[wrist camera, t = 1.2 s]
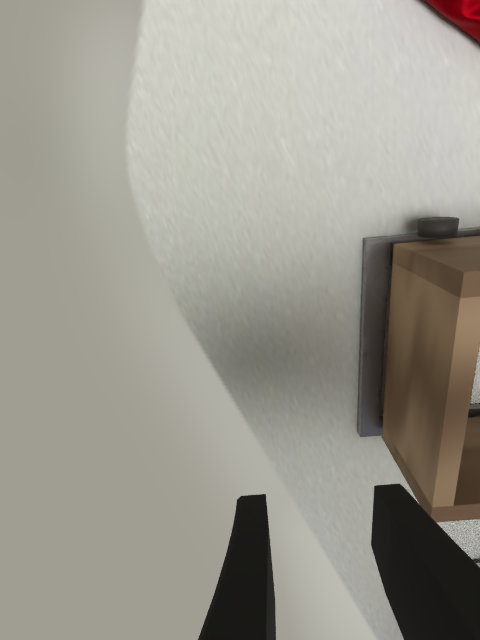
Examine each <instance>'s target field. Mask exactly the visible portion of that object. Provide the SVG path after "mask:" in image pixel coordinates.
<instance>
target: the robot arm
mask: <svg viewBox="0 0 480 640" xmlns="http://www.w3.org/2000/svg"><path fill="white" fill-rule="evenodd" d="M371 546H372V549H373V553H374V556H375V559H376V563H377V566H378V570H379V573H380V576H381V580H382V583H383V586H384V589H385V593H386V595H387V598H388V600H389V603H390V605H391V608H392V610H393V613H394V615H395V618H396V620H397V623H398V625H399V628H400V630H401V633H402V635H403V638H404V640H480V562H479V563H475V562H474V561H473V560H472V559H471V558H470V557H469V556H468V555H467V554H466V553H465V552H464V551H463V550H462V549H461V548H460V547H459V546H458V545H457V544H456V543H455V542H454V541H453V540H452V539H451V538H450V537H449V536H448V535H447V533H446V532H445V531H444V530H443V529H442V528H441V527H440V526H439V525H438V524H437V523H436V522H435V521H434V520H433V519H432V518H431V517H430V515H429V514H428V513H427V512H426V511H425V510H424V509H423V508H422V507H421V506H420V505H419V504H418V502H417V501H416V500H415V499H414V498H413V497H412V496H411V495H410V494H409V493H408V491H407V490H406V489H405V488H404V487H403V486H402V485H400V484H390V485H377V486H374V504H373V522H372V540H371ZM198 640H276V626H275V596H274V583H273V571H272V560H271V548H270V538H269V526H268V515H267V505H266V495H265V494H262V495H248V496H241V497H240V498H239V499H238V500H237V506H236V513H235V519H234V524H233V529H232V533H231V537H230V541H229V546H228V550H227V553H226V557H225V560H224V563H223V567H222V570H221V574H220V577H219V580H218V584H217V587H216V590H215V593H214V596H213V599H212V602H211V605H210V608H209V610H208V613H207V616H206V619H205V622H204V625H203V627H202V630H201V633H200V636H199V639H198Z"/></svg>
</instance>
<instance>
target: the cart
mask: <svg viewBox="0 0 480 640" xmlns="http://www.w3.org/2000/svg"><path fill="white" fill-rule="evenodd" d="M458 223H459V218H454V217H432V218H424V219H420V220H419V224H418V236H420V237H426V238H445V237H453V236H456V235H457V231H458ZM479 345H480V236H471V237H461V238H450V239H439V240H429V241H418V242H407V243H397V244H394V248H393V265H392V281H391V297H390V314H389V330H388V346H387V363H386V379H385V395H384V412H383V428H382V438H383V440H384V442H385V444H386V446H387V447H388V449H389V451H390V453H391V454H392V456H393V458H394V460H395V461H396V463H397V465H398V467H399V468H400V470H401V472H402V474H403V476H404V477H405V479H406V481H407V483H408V484H409V486H410V488H411V490H412V491H413V493H414V495H415V497H416V499H417V500H418V502H419V504H420V506H421V507H422V508H423V509H424V510H425V511H426V512H427V513H428V514H429V515H430V517H431V518H432V519H433V520H434V521H435V522H445V521H458V520H472V519H480V417H471V418H468V413H469V406H470V400H471V394H472V388H473V382H474V376H475V370H476V363H477V357H478V351H479Z"/></svg>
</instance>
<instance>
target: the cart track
mask: <svg viewBox="0 0 480 640" xmlns="http://www.w3.org/2000/svg"><path fill="white" fill-rule="evenodd" d="M471 236H480V227H479V228H468V229H458V231H457V235H456V236H453V237H445V238H426V237H420V236H418V233H415V234H404V235H394V236H383V237H372V238H364V244H363V276H362V308H361V341H360V373H359V405H358V434H359V436H360V437H366V436H378V435H382V428H383V412H380V408H381V390H382V373H383V355H384V338H385V321H386V303H387V286H388V268H389V265H393V248H394V244H397V243H407V242H418V241H429V240H439V239H450V238H461V237H471ZM471 417H480V404H470V406H469V413H468V418H471Z"/></svg>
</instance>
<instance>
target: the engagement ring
mask: <svg viewBox="0 0 480 640" xmlns="http://www.w3.org/2000/svg"><path fill="white" fill-rule="evenodd" d="M425 1H426V2H428V3H429V4H430V5H431V6H432V7H433V8H434V9H436V10H437V11H438V12H439V13H440V14H442V15H443V16H444V17H445V18H447V19H448V20H450V21H452V22H453V23H455V24H456V25H457V26H458V27H460V28H461V29H462V30H463V31H465V32H466V33H468V34H469V35H471V36H472V37H473V38H475V39H476V40H477V41H478V42H480V0H425Z"/></svg>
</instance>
